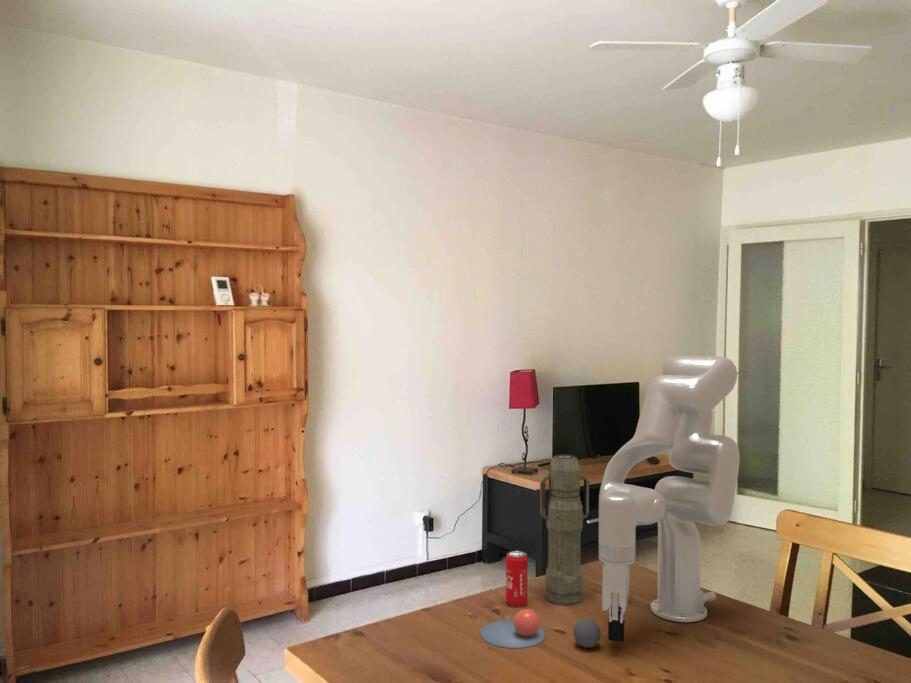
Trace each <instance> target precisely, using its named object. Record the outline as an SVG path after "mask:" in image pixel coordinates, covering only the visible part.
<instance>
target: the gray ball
mask: <svg viewBox="0 0 911 683" xmlns="http://www.w3.org/2000/svg"><path fill="white" fill-rule="evenodd" d="M601 634H602V633H601V629H600V626H599V625H598V624H597V623H596V621H594V620H592V619H590V618H582V619H580V620H578V621H577V622H576V623H575V625H574V628H573V637H574V639H575V641H576V643H577V644H578V645H580V646H581V647H583V648H590V649H591V648H593V647H594V646H597V644H598V643H599V642H600V640H601Z"/></svg>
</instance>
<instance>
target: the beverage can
mask: <svg viewBox="0 0 911 683" xmlns="http://www.w3.org/2000/svg"><path fill="white" fill-rule="evenodd" d="M527 555H528V554H527V553H526V552H524V551H521V550H520V551H519V550H512V551H508V552H507V553H506V557H505V600H506V603H507V605H508V606H510V607H514V608H520V607H524V606H526V604H527V601H528V587H529V586H528V575H529V574H528V568H529V567H528V566H529V565H528V563H529V562H528V556H527Z"/></svg>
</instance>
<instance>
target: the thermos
mask: <svg viewBox="0 0 911 683" xmlns="http://www.w3.org/2000/svg"><path fill="white" fill-rule="evenodd" d="M548 467H549V468H548V474H547V475H543V477H542V478H541V480H540V481H539V483H540V485H539V487H540V488H539V493H540V494H539V500H540V501H539V504H540V505H539V506H540V507H539V514H540V515H541V517H542V518H543V519H545V521H546V522H545V523H546V524H545V526H546V529H547V531H548V532H547V535H548V536H547V539H548V540H547V544H548V545H547V549H548V550H547V563H548V564H547V566H546V569H545V589H546V594H545V595H546V600H547V601H548V603H551V604H554V605H558V606H575V605H578V604H580V603H581V602H582V601H583V598H582V597H583V596H582V595H583V594H582V592H583V590H584V589H583V585H584V584H583V582H584V581H583V578H584V577H583V576H584V574H583V570H582V568H581V547H582V546H581V543H582V542H581V536H582V534H581V533H582V530H583V526H584V525H583V523H584V522H583V521H584V520H585V518H586V519H587V518H589V514H590V513H589V512H590V480H589V479H588V478H587V476H586V475H585V474H581V467H580V464H579V460H578V458H577V457H575V456H574V455H572V454H555V455H554V456H553V457H551V460H550V463H549V466H548ZM547 481H548V489H549V493H548V499H547V502H546V482H547ZM581 481H583V504H582V501H581V493H580V490H581Z"/></svg>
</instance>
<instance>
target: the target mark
mask: <svg viewBox="0 0 911 683" xmlns="http://www.w3.org/2000/svg"><path fill="white" fill-rule="evenodd" d="M545 632H546V631H545V630H543V628H542V627H539V630H538V631H537V633H536V634H535V635H533V636H531V637H524V636H521V635H520V634H519V633H518V632H517V631H516V630H515V627H514V619H503V620H497V621H493V622H490V623H488V624H486V625H484V626H483V627H482V628H481V629H480V637H481V638H482V640H484V642H486V643H488V644H490V645H493V646H494V647H495V646H496V647H498V648H499V647H500V648H505V649H526V648H530V647H535V646H537V645H540V644H541V643H542V642H543V641H544V640H545V639H546V633H545Z"/></svg>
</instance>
